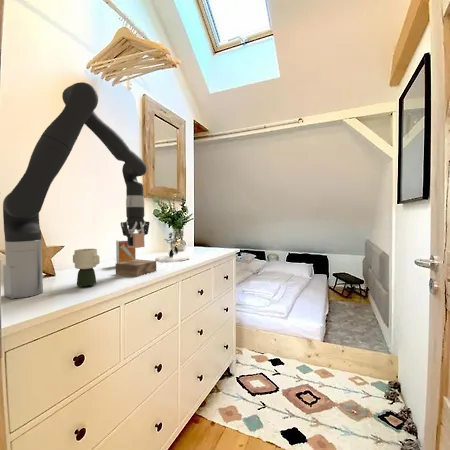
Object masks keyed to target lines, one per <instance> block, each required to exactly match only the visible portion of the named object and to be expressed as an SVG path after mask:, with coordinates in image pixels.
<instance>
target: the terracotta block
mask: <svg viewBox="0 0 450 450" xmlns="http://www.w3.org/2000/svg"><path fill="white" fill-rule="evenodd" d="M126 238H127V237H126ZM126 240H127V241H128V238H127V239H126ZM145 245H146V244H145V236H144V233H138V232H134V233H133V246H129V245H128V248H135V249H139V248H145Z"/></svg>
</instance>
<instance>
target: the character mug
mask: <svg viewBox="0 0 450 450" xmlns="http://www.w3.org/2000/svg"><path fill="white" fill-rule="evenodd" d="M100 259H101V258H100V255H99V254H98V249H97V248H81V249H80V248H79V249H75V250H74V254H73V255H72V263H73V264H74V268H75V269H77V270H78V272H77V276H76V277H77V278H76V286H77V287H82V288H83V287H87V286H89V287H91V286H92V285H96V284H97V277H96V272H95V269H94V268H95V267H97V266H98V265H99V264H100Z"/></svg>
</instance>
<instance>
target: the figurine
mask: <svg viewBox="0 0 450 450" xmlns="http://www.w3.org/2000/svg"><path fill="white" fill-rule="evenodd" d="M172 237H173V232H169V233H168V238H167V239H166V238H164V240H165V242H166V243H167V244H170V245H171V246H170V247H173V244H175V246H174V249H173V248H171V249H170V250H169V252H168V253H164V254H163V253H162V254H160V255H158V256H157V257H156V258H155V259H154V261H156V262H157V261H158V262H159V263H178V262H182V261H186V260H189V259H190V256H189V254H188V253H182V252H179V248H178V247H177V245H176V239H177V236H174V238H172Z"/></svg>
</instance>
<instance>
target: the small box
mask: <svg viewBox="0 0 450 450" xmlns="http://www.w3.org/2000/svg"><path fill="white" fill-rule="evenodd" d="M115 245H116V249H115V250H116V251H115V252H116V253H115V256H116V259H115V260H116V261H115V262H116V263H121V262H126V261H130V260H135V259H137V258H136V248H128V241H127V239H117V240H115Z"/></svg>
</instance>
